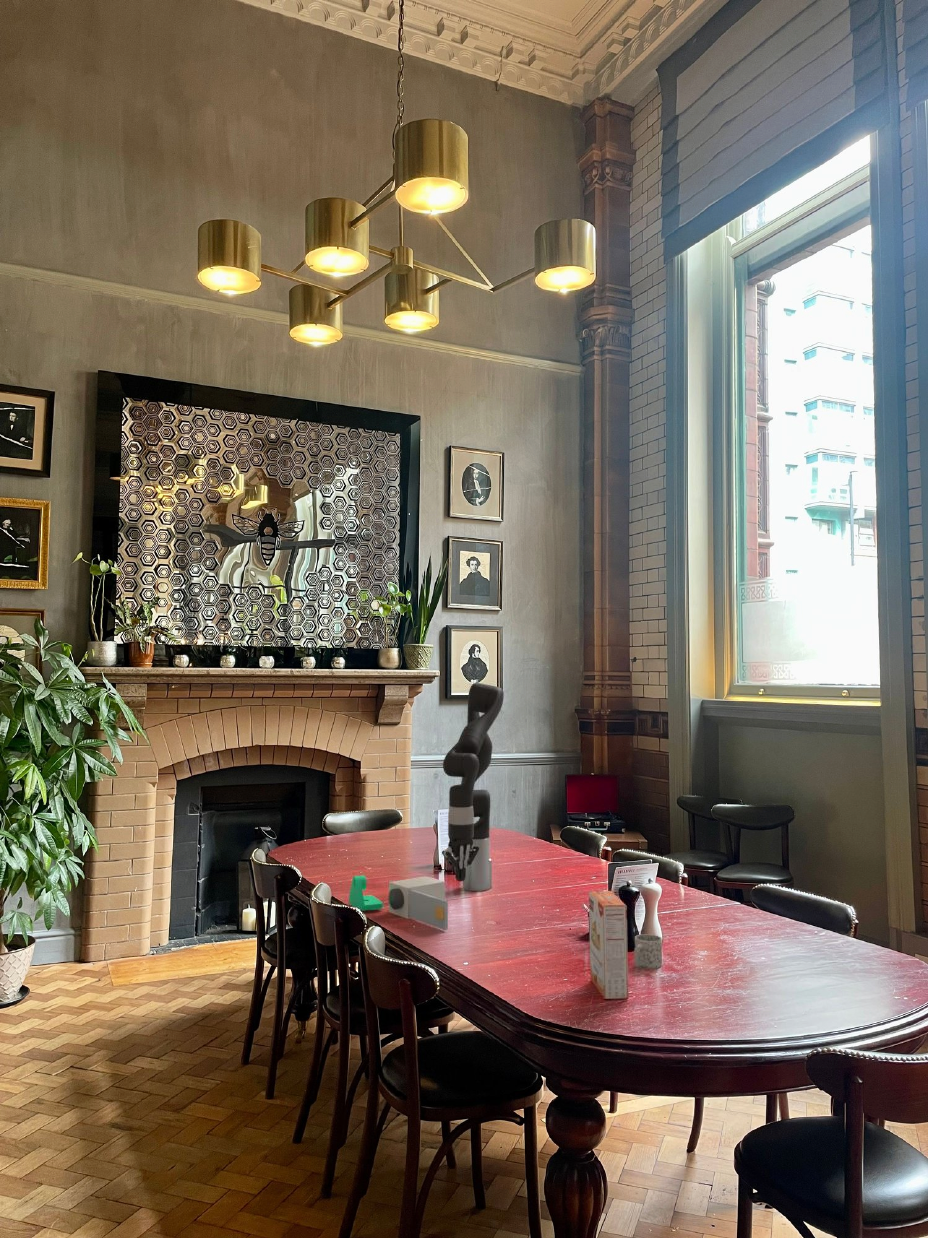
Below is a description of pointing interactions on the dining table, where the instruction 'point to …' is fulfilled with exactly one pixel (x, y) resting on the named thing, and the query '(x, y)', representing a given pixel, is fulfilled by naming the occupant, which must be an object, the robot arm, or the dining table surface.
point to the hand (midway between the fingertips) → (460, 880)
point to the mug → (648, 951)
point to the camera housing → (420, 884)
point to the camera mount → (357, 895)
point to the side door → (428, 909)
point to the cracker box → (608, 944)
